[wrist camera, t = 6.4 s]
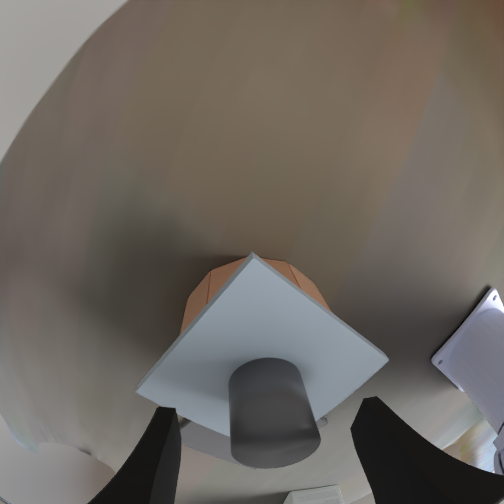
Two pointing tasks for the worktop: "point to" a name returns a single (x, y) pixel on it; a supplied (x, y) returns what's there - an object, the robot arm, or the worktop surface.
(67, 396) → the worktop surface
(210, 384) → the lid
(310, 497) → the small box
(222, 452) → the mat
